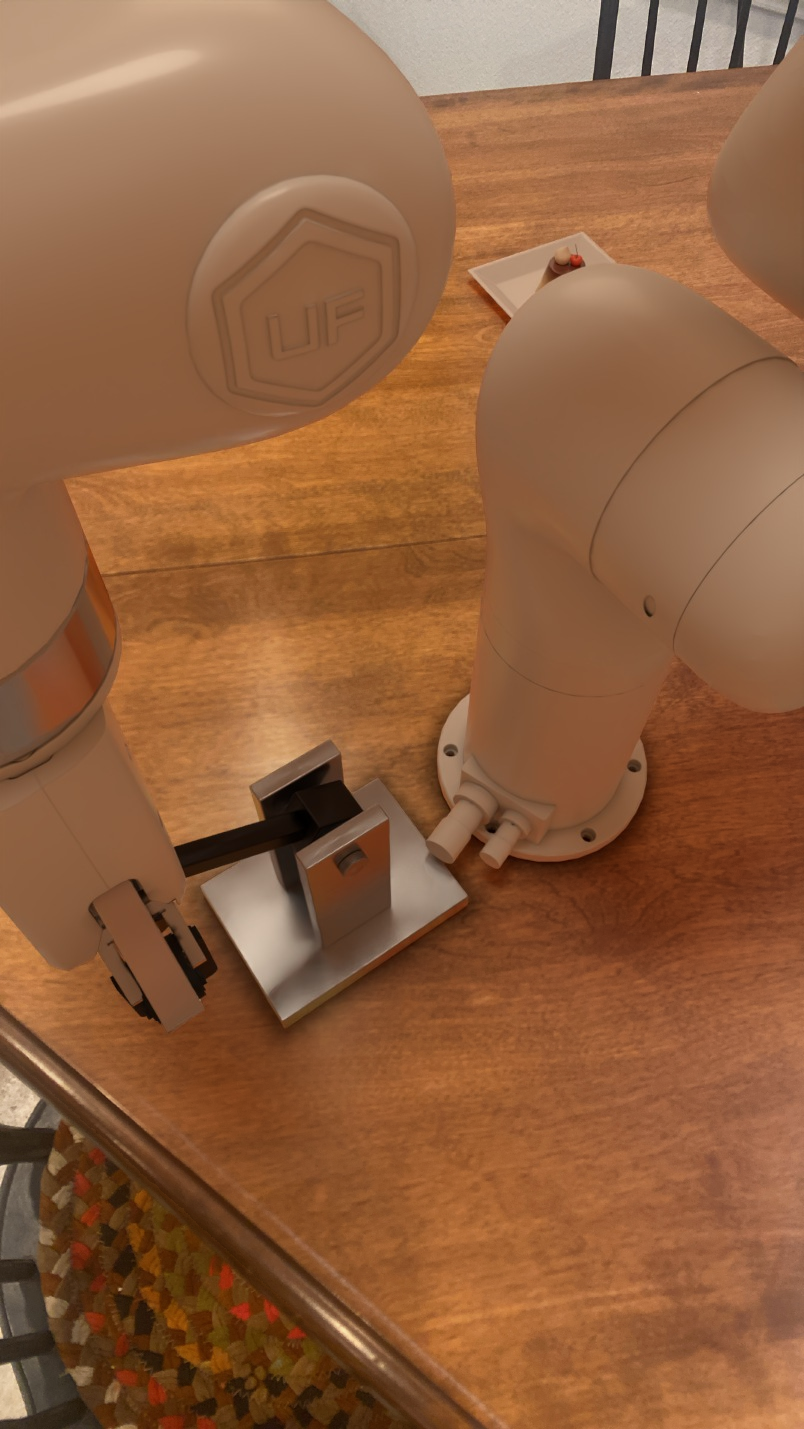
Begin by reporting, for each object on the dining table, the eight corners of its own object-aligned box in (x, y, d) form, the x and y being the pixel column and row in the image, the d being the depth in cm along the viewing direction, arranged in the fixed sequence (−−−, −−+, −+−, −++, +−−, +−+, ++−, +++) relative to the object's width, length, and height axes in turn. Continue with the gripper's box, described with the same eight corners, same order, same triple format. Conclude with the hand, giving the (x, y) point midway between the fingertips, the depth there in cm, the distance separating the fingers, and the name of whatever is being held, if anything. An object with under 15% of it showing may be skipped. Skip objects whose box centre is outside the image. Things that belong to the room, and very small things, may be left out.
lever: (130, 953, 36) (145, 918, 35) (75, 853, 39) (88, 816, 37) (363, 867, 45) (383, 836, 43) (307, 789, 47) (325, 756, 45)
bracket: (284, 1029, 50) (252, 958, 39) (203, 895, 54) (152, 795, 43) (467, 905, 53) (485, 808, 42) (379, 787, 57) (374, 670, 46)
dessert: (660, 317, 80) (674, 265, 76) (540, 362, 77) (548, 310, 73) (580, 242, 85) (590, 189, 81) (466, 281, 83) (469, 228, 78)
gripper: (-303, 475, 25) (-51, 773, 40) (-75, 1018, 18) (132, 1140, 33) (-34, 372, 28) (112, 690, 42) (266, 817, 20) (316, 1015, 35)
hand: (120, 886), depth 37 cm, fingers open, 9 cm apart
